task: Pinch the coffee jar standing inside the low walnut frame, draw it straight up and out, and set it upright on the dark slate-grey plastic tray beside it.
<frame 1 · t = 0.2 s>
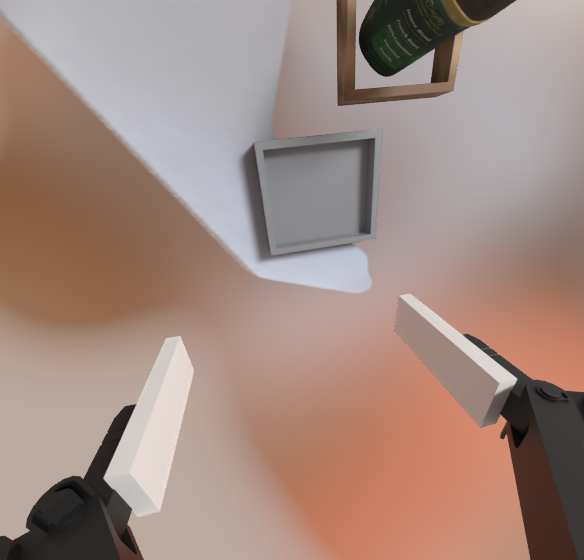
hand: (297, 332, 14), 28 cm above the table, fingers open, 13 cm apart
coffee jar: (391, 31, 31), resting in walnut frame
slate tray: (317, 194, 38), on the table
walnut frame: (392, 30, 31), on the table
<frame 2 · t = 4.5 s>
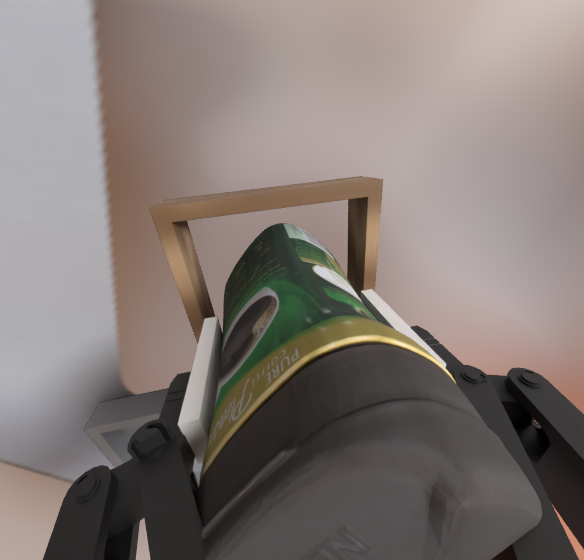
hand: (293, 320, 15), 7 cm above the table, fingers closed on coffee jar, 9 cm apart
coffee jar: (279, 274, 22), resting in walnut frame, touching gripper
slate tray: (209, 428, 29), on the table
walnut frame: (279, 275, 22), on the table
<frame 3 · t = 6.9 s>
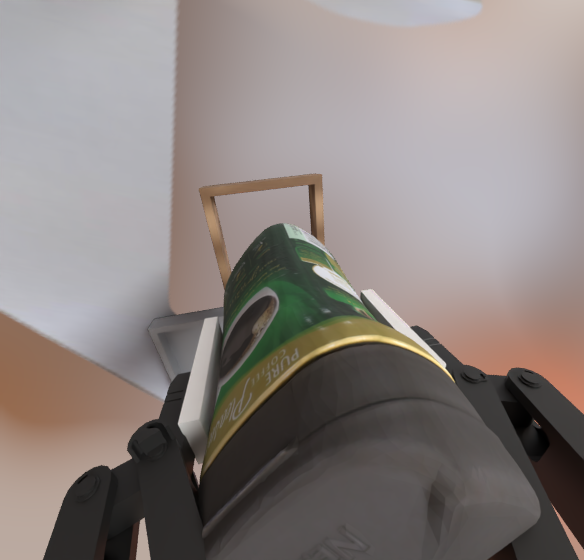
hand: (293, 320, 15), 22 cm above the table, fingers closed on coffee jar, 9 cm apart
coffee jar: (279, 274, 22), point 15 cm above the table, touching gripper
slate tray: (222, 346, 43), on the table
walnut frame: (268, 234, 35), on the table
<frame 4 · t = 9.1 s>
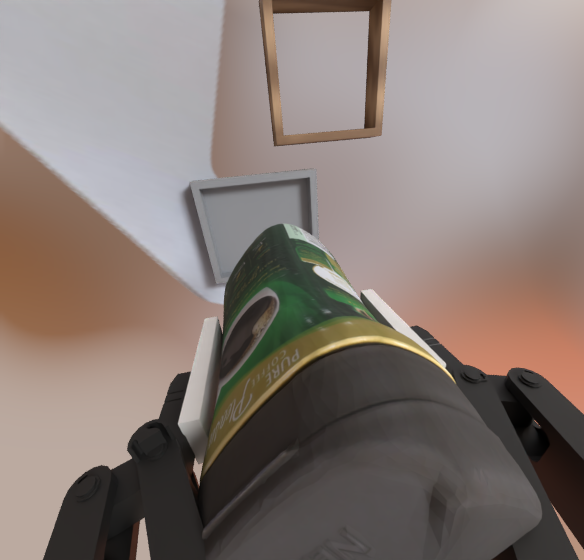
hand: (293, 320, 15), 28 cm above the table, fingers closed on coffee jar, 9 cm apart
coffee jar: (279, 274, 22), point 20 cm above the table, touching gripper
slate tray: (261, 226, 40), on the table
walnut frame: (321, 78, 33), on the table
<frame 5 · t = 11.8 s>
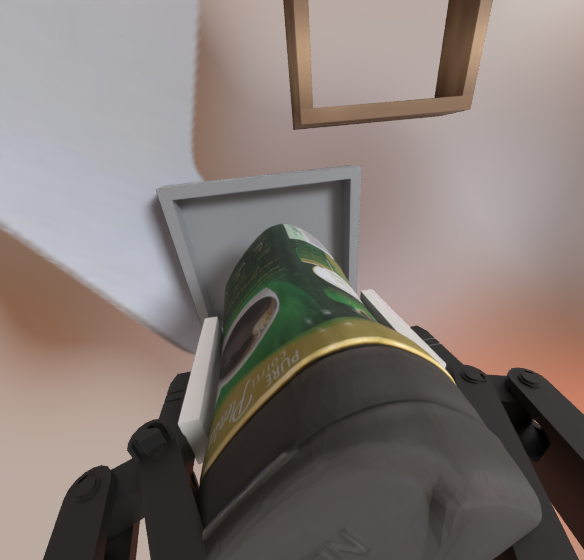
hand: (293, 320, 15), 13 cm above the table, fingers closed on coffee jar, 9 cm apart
coffee jar: (279, 274, 22), point 6 cm above the table, touching gripper
slate tray: (272, 252, 27), on the table
walnut frame: (375, 13, 19), on the table
when the fingers open (8 cm above the table, at t = 13.9 s): coffee jar stays where it is, resting on slate tray.
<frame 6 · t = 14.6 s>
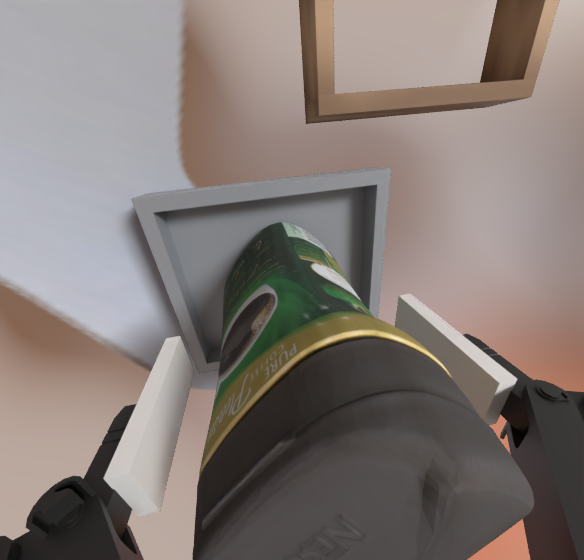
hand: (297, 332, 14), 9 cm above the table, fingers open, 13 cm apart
coffee jar: (278, 273, 22), point 1 cm above the table, touching slate tray
slate tray: (278, 271, 23), on the table
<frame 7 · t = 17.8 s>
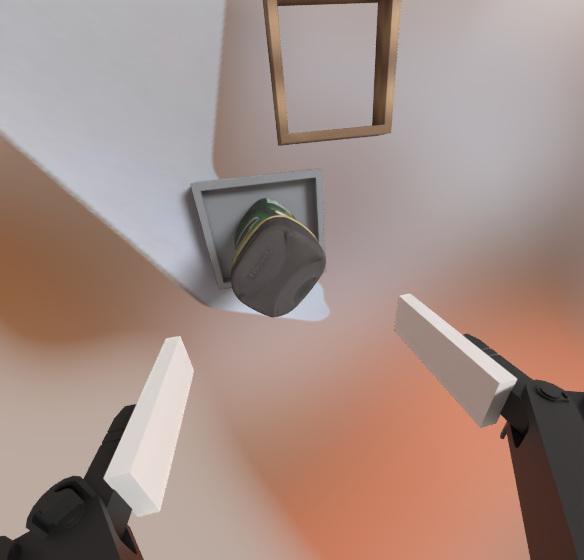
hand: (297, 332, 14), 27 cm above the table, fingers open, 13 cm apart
coffee jar: (265, 229, 38), point 1 cm above the table, touching slate tray
slate tray: (265, 229, 38), on the table
walnut frame: (328, 74, 31), on the table
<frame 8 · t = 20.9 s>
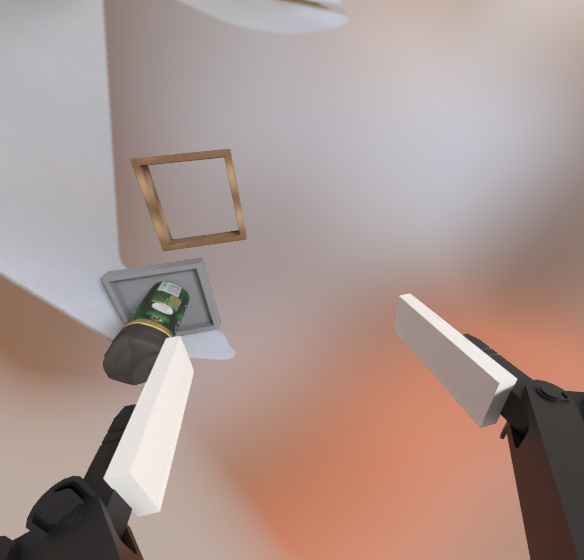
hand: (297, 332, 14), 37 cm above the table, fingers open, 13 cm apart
coffee jar: (168, 299, 51), point 1 cm above the table, touching slate tray
slate tray: (169, 298, 51), on the table
walnut frame: (197, 200, 44), on the table
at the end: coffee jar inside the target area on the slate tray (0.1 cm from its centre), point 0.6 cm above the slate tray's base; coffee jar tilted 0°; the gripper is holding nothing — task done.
